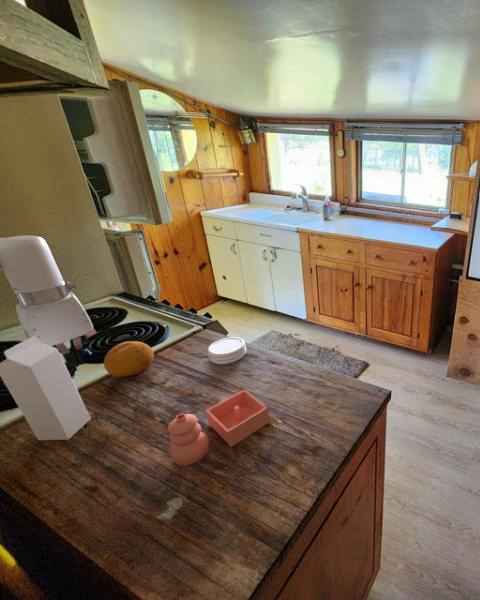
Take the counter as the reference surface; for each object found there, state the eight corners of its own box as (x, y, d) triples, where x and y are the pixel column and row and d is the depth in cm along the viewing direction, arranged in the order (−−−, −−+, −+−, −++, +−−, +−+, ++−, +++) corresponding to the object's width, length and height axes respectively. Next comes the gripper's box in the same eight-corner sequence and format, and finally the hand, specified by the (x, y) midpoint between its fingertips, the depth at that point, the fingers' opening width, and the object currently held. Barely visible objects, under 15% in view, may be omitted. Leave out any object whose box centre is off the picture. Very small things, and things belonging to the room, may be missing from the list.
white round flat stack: (253, 353, 99) (252, 343, 97) (222, 369, 91) (220, 359, 89) (234, 342, 103) (232, 333, 102) (202, 357, 96) (200, 347, 94)
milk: (91, 418, 73) (52, 334, 64) (68, 440, 68) (21, 352, 58) (62, 419, 73) (19, 334, 64) (36, 440, 67) (-15, 351, 58)
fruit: (99, 375, 86) (89, 350, 83) (142, 355, 95) (133, 332, 92) (123, 387, 83) (113, 361, 79) (165, 365, 92) (157, 341, 88)
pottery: (247, 402, 80) (241, 370, 75) (269, 421, 75) (264, 388, 70) (164, 450, 66) (151, 414, 62) (184, 477, 61) (171, 439, 57)
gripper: (79, 279, 77) (107, 344, 85) (-14, 303, 65) (28, 375, 73) (94, 286, 74) (122, 353, 82) (-1, 312, 62) (41, 387, 70)
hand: (77, 363), depth 78 cm, fingers closed
